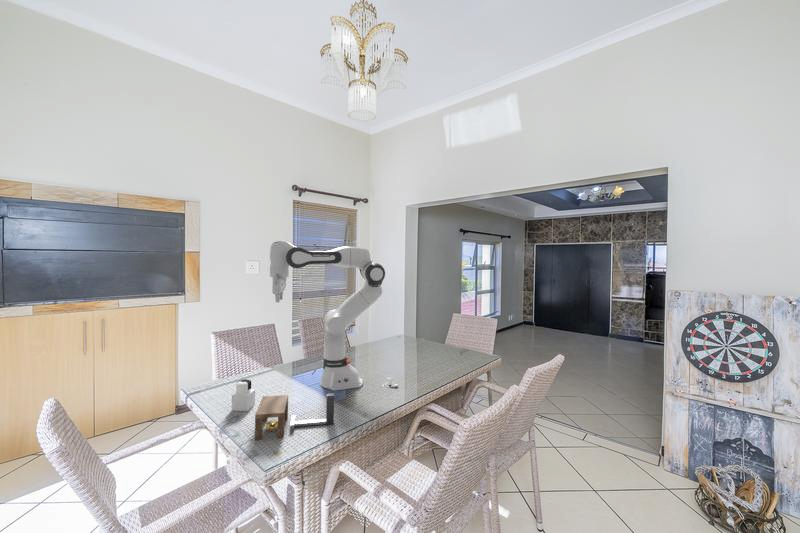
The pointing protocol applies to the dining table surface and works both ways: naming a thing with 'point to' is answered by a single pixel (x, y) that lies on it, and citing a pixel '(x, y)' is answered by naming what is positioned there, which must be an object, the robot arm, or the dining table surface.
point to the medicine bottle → (243, 396)
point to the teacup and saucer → (389, 382)
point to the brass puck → (272, 425)
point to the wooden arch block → (271, 413)
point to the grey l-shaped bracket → (327, 421)
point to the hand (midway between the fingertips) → (279, 300)
